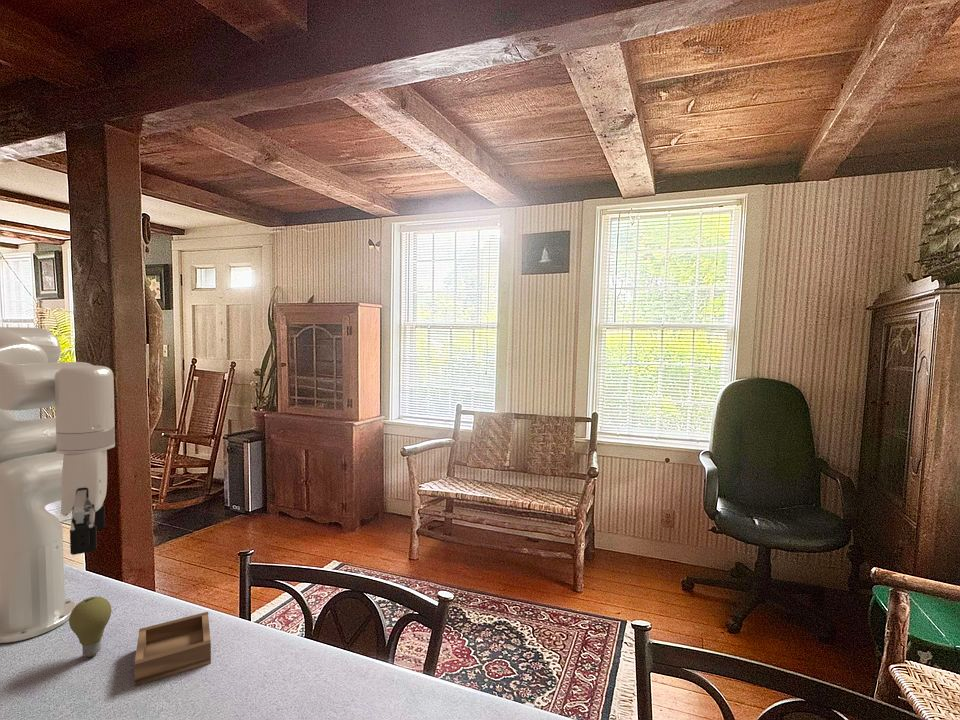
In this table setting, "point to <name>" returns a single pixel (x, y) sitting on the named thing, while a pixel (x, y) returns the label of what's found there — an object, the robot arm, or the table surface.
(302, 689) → the table surface
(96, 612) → the light bulb
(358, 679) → the table surface
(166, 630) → the open wooden box
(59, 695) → the table surface
